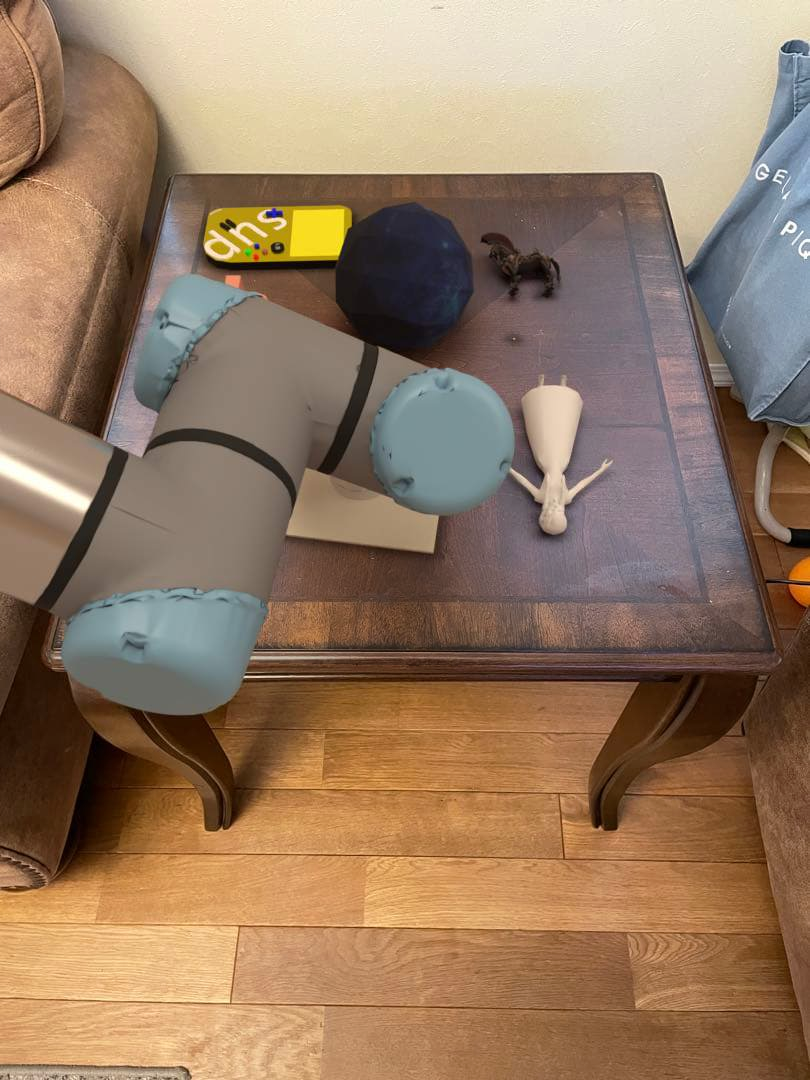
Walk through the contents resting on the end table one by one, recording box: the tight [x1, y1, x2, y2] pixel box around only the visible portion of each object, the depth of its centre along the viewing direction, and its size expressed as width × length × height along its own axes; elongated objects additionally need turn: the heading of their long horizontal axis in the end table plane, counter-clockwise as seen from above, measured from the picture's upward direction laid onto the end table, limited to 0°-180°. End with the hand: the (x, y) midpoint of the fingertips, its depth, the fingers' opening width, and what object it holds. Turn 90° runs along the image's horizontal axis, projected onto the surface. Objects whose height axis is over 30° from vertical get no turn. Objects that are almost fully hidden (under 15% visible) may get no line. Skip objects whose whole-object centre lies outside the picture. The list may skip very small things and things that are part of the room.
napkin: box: [285, 468, 440, 555], centre depth 78 cm, size 16×16×1 cm
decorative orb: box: [334, 201, 475, 352], centre depth 84 cm, size 14×15×15 cm
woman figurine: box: [508, 373, 614, 536], centre depth 77 cm, size 12×4×18 cm
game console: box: [202, 204, 353, 271], centre depth 98 cm, size 18×11×2 cm, turn 93°
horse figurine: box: [479, 231, 562, 341], centre depth 92 cm, size 9×4×15 cm
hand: (351, 423), depth 76 cm, fingers open, 10 cm apart
